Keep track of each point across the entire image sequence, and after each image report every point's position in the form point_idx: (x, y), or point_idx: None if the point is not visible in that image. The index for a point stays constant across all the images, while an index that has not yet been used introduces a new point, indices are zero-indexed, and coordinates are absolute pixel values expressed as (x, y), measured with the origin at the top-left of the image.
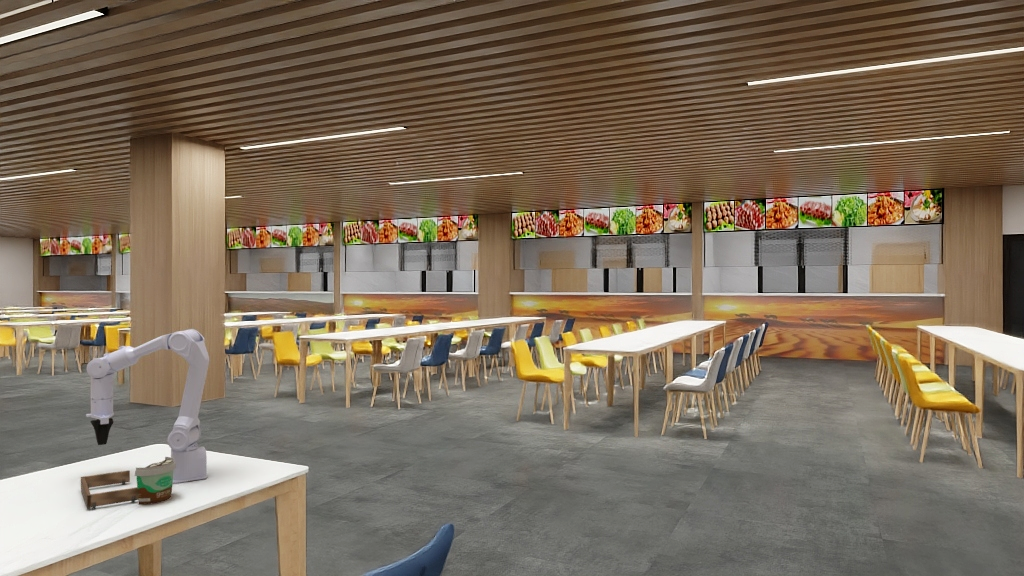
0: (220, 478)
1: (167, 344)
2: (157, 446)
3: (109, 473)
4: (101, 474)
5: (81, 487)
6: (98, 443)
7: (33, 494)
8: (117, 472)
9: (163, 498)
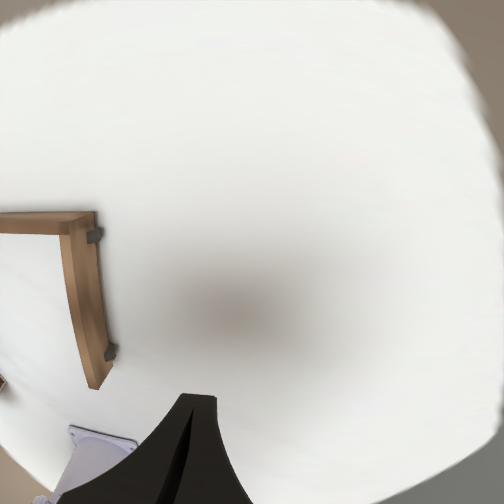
0: None
1: None
2: (487, 435)
3: (75, 328)
4: (72, 301)
5: (59, 214)
6: (176, 401)
7: (148, 48)
8: (81, 354)
9: None
